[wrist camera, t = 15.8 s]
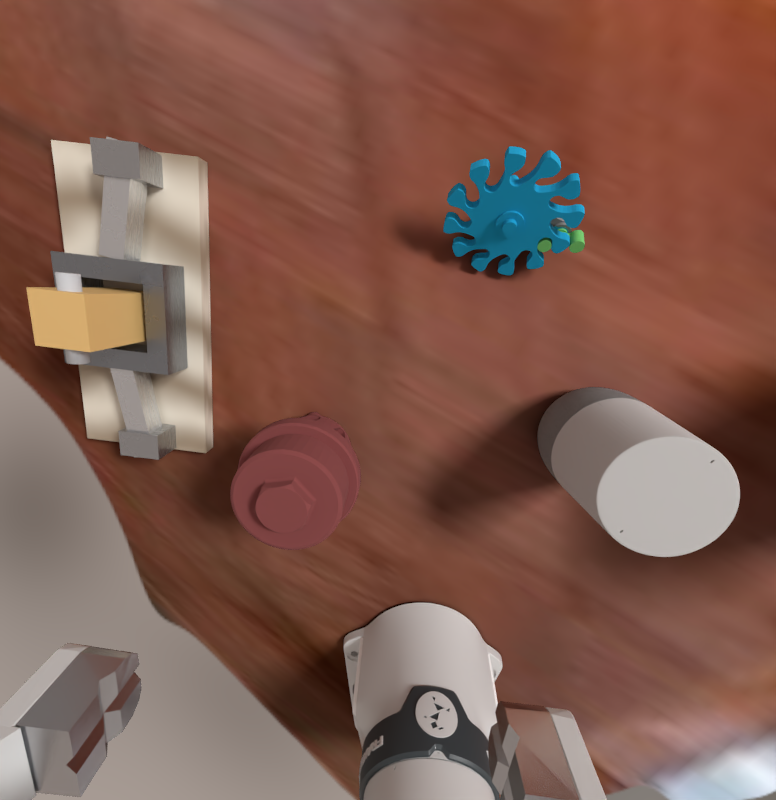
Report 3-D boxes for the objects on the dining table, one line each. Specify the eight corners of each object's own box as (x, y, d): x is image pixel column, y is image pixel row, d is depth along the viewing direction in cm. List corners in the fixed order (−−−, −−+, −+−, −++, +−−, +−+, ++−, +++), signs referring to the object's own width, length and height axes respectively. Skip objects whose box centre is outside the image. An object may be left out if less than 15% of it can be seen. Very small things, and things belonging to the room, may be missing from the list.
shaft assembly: (191, 451, 38) (173, 465, 35) (102, 440, 38) (77, 452, 35) (179, 154, 30) (155, 140, 27) (68, 141, 30) (33, 125, 28)
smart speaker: (584, 359, 35) (696, 404, 22) (649, 423, 36) (791, 502, 23) (508, 430, 37) (566, 511, 24) (572, 487, 39) (660, 594, 25)
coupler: (161, 351, 35) (92, 368, 27) (118, 345, 35) (37, 361, 27) (156, 278, 33) (81, 276, 26) (112, 273, 33) (23, 269, 26)
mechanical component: (282, 491, 40) (260, 401, 38) (375, 481, 39) (360, 388, 37) (231, 575, 29) (194, 453, 26) (362, 563, 28) (337, 436, 25)
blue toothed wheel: (421, 251, 31) (486, 129, 23) (431, 207, 34) (492, 83, 26) (535, 300, 34) (634, 205, 25) (536, 254, 36) (625, 155, 28)
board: (213, 447, 39) (205, 453, 38) (99, 432, 39) (87, 438, 38) (207, 162, 32) (197, 156, 30) (67, 146, 32) (50, 139, 30)
